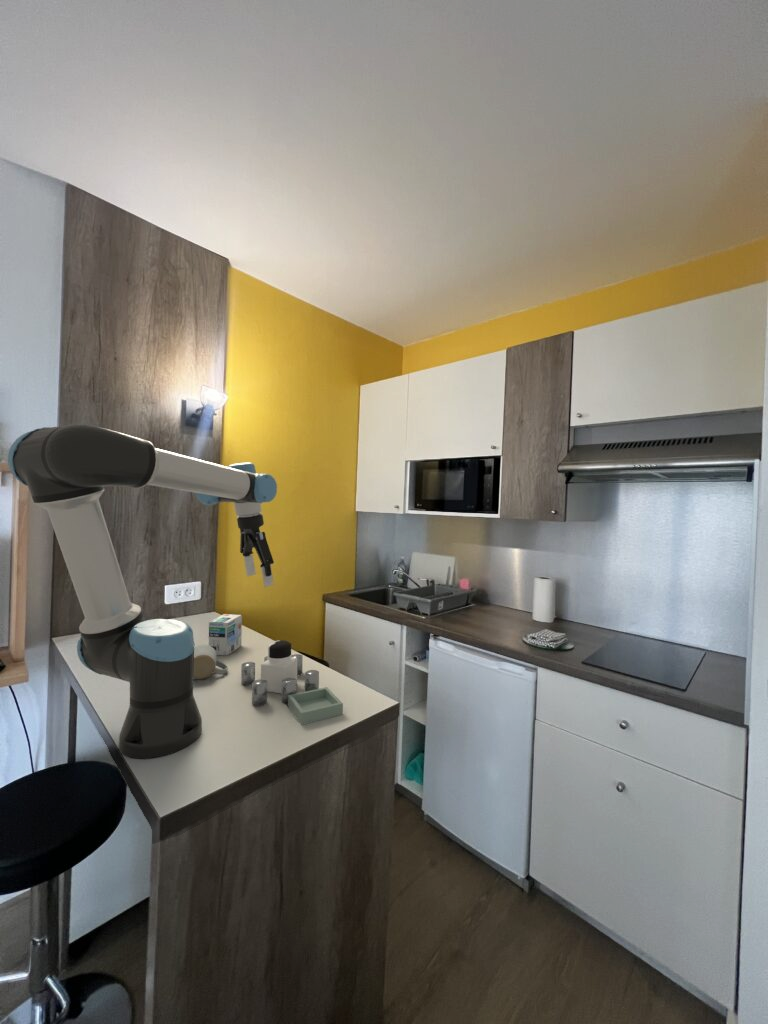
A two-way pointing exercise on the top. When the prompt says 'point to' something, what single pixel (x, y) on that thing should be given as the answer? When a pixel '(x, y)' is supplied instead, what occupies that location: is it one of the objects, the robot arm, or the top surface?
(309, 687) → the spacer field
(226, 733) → the top surface
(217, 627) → the light bulb box
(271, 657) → the medicine bottle
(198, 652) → the ceramic mug
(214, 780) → the top surface
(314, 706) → the tray
